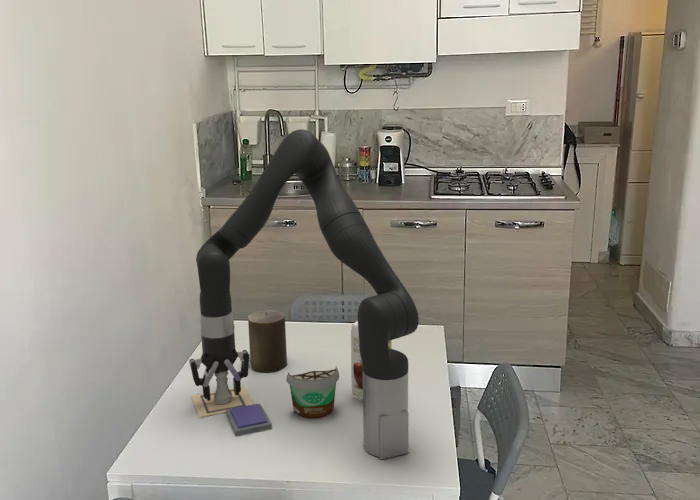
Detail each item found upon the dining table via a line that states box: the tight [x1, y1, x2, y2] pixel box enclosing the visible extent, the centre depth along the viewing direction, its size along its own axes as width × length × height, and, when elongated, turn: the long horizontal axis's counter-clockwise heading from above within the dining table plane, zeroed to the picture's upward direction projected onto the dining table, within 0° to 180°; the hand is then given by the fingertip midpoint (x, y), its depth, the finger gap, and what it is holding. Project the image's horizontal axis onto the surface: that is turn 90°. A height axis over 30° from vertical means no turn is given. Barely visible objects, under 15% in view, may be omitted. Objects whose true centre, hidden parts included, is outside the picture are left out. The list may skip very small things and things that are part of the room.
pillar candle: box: [247, 309, 288, 373], centre depth 179 cm, size 10×10×15 cm
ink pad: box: [225, 403, 273, 437], centre depth 153 cm, size 10×8×2 cm
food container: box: [285, 365, 340, 420], centre depth 154 cm, size 12×6×10 cm, turn 105°
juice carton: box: [350, 320, 393, 401], centre depth 161 cm, size 8×9×19 cm
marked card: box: [190, 385, 255, 419], centre depth 162 cm, size 11×13×1 cm
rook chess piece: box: [213, 370, 233, 405], centre depth 161 cm, size 4×4×8 cm
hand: (222, 396), depth 162 cm, fingers open, 6 cm apart
